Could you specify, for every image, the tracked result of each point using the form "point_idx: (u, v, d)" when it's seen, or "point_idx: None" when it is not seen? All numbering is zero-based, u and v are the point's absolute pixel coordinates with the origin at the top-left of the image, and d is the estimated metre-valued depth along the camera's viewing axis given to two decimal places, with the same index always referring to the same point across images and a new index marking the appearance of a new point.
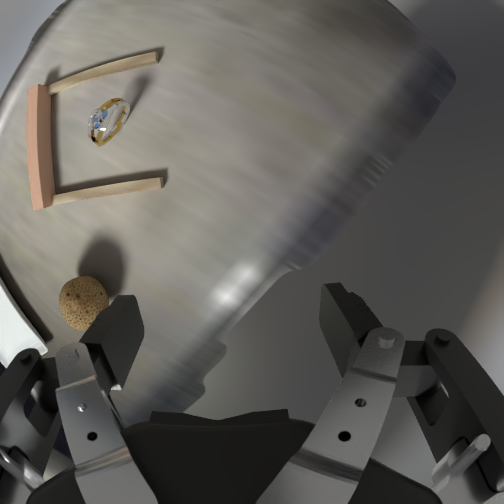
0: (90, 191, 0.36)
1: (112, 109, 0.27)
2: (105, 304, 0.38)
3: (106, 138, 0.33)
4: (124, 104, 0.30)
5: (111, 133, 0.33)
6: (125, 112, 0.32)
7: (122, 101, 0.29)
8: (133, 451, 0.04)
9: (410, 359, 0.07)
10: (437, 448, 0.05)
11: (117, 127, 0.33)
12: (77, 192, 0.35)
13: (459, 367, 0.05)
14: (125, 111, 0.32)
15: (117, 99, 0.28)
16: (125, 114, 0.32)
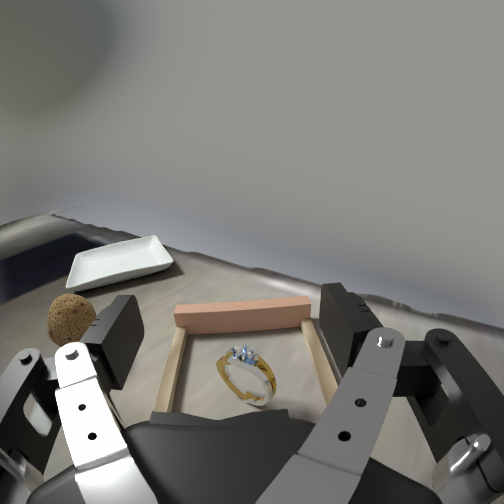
0: (173, 362, 0.33)
1: (255, 370, 0.25)
2: (59, 338, 0.30)
3: (228, 379, 0.29)
4: (266, 391, 0.25)
5: (236, 387, 0.29)
6: (260, 400, 0.27)
7: (269, 387, 0.25)
8: (133, 451, 0.04)
9: (410, 359, 0.07)
10: (437, 448, 0.05)
11: (242, 394, 0.29)
12: (178, 350, 0.35)
13: (459, 367, 0.05)
14: (261, 400, 0.27)
15: (272, 380, 0.25)
16: (257, 401, 0.27)
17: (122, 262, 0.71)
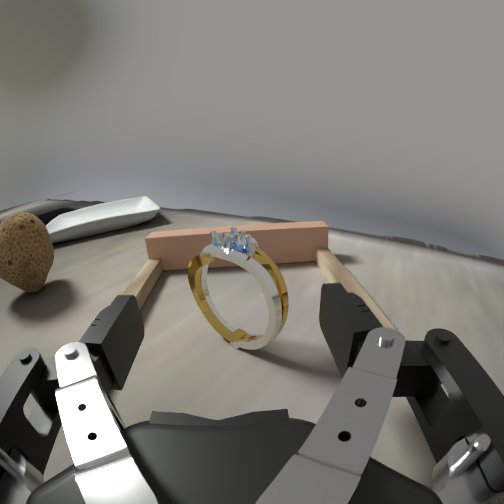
0: (133, 293, 0.23)
1: (249, 261, 0.14)
2: None
3: (208, 307, 0.19)
4: (270, 310, 0.15)
5: (220, 321, 0.19)
6: (259, 338, 0.17)
7: (276, 299, 0.15)
8: (133, 451, 0.04)
9: (410, 359, 0.07)
10: (437, 448, 0.05)
11: (230, 332, 0.18)
12: (143, 280, 0.25)
13: (459, 367, 0.05)
14: (261, 336, 0.16)
15: (282, 289, 0.15)
16: (255, 339, 0.17)
17: None
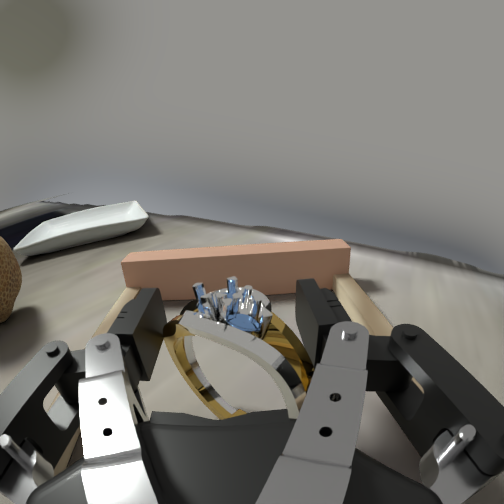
0: None
1: (260, 350, 0.08)
2: None
3: (196, 379, 0.12)
4: (291, 414, 0.08)
5: (213, 397, 0.12)
6: None
7: (302, 401, 0.08)
8: (148, 451, 0.04)
9: (375, 353, 0.07)
10: (419, 441, 0.05)
11: (228, 414, 0.12)
12: None
13: (431, 361, 0.06)
14: None
15: (310, 382, 0.09)
16: None
17: None
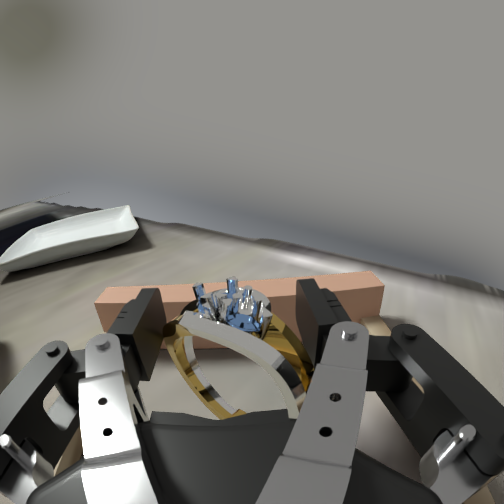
0: None
1: (260, 350, 0.08)
2: None
3: (196, 380, 0.12)
4: (291, 414, 0.08)
5: (212, 397, 0.12)
6: None
7: (302, 402, 0.08)
8: (148, 451, 0.04)
9: (375, 353, 0.07)
10: (419, 442, 0.05)
11: (228, 415, 0.12)
12: None
13: (431, 361, 0.06)
14: None
15: (310, 382, 0.09)
16: None
17: (79, 236, 0.48)
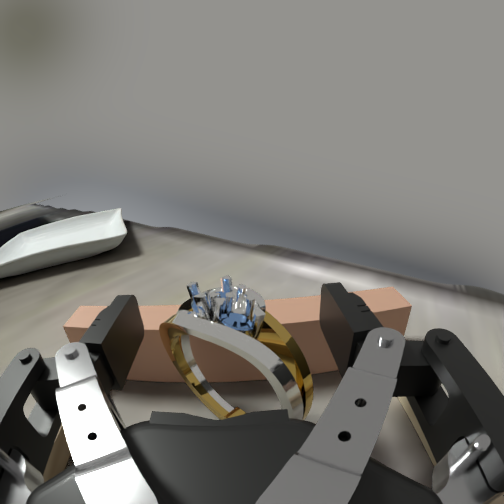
0: None
1: (253, 349, 0.08)
2: None
3: (193, 378, 0.12)
4: None
5: (210, 395, 0.12)
6: None
7: (296, 400, 0.08)
8: (133, 451, 0.04)
9: (410, 359, 0.07)
10: (437, 448, 0.05)
11: (225, 413, 0.12)
12: None
13: (459, 367, 0.05)
14: None
15: (305, 381, 0.09)
16: None
17: (66, 242, 0.44)
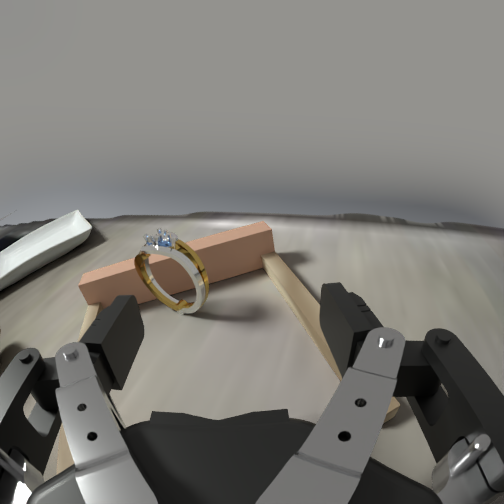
0: None
1: (172, 252, 0.20)
2: None
3: (155, 288, 0.25)
4: (195, 282, 0.21)
5: (166, 297, 0.25)
6: (194, 303, 0.23)
7: (196, 273, 0.21)
8: (133, 451, 0.04)
9: (410, 359, 0.07)
10: (437, 448, 0.05)
11: (175, 303, 0.24)
12: None
13: (459, 367, 0.05)
14: None
15: (199, 265, 0.21)
16: (192, 305, 0.23)
17: (43, 247, 0.49)
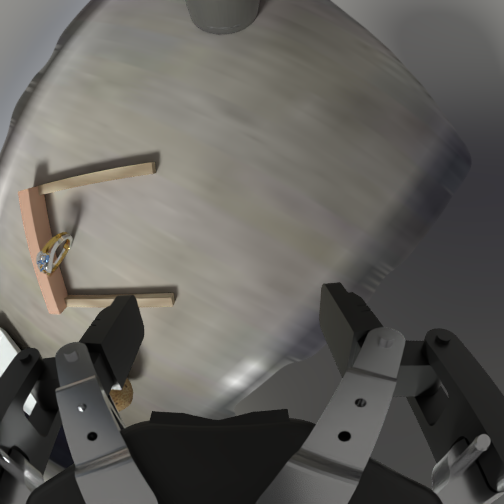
0: (103, 301, 0.38)
1: (52, 253, 0.30)
2: (130, 393, 0.41)
3: (58, 262, 0.35)
4: (63, 240, 0.32)
5: (61, 256, 0.36)
6: (69, 239, 0.35)
7: (61, 239, 0.31)
8: (133, 451, 0.04)
9: (410, 359, 0.07)
10: (437, 448, 0.05)
11: (65, 250, 0.36)
12: (90, 300, 0.38)
13: (459, 367, 0.05)
14: (68, 238, 0.35)
15: (56, 237, 0.31)
16: (69, 240, 0.35)
17: None
